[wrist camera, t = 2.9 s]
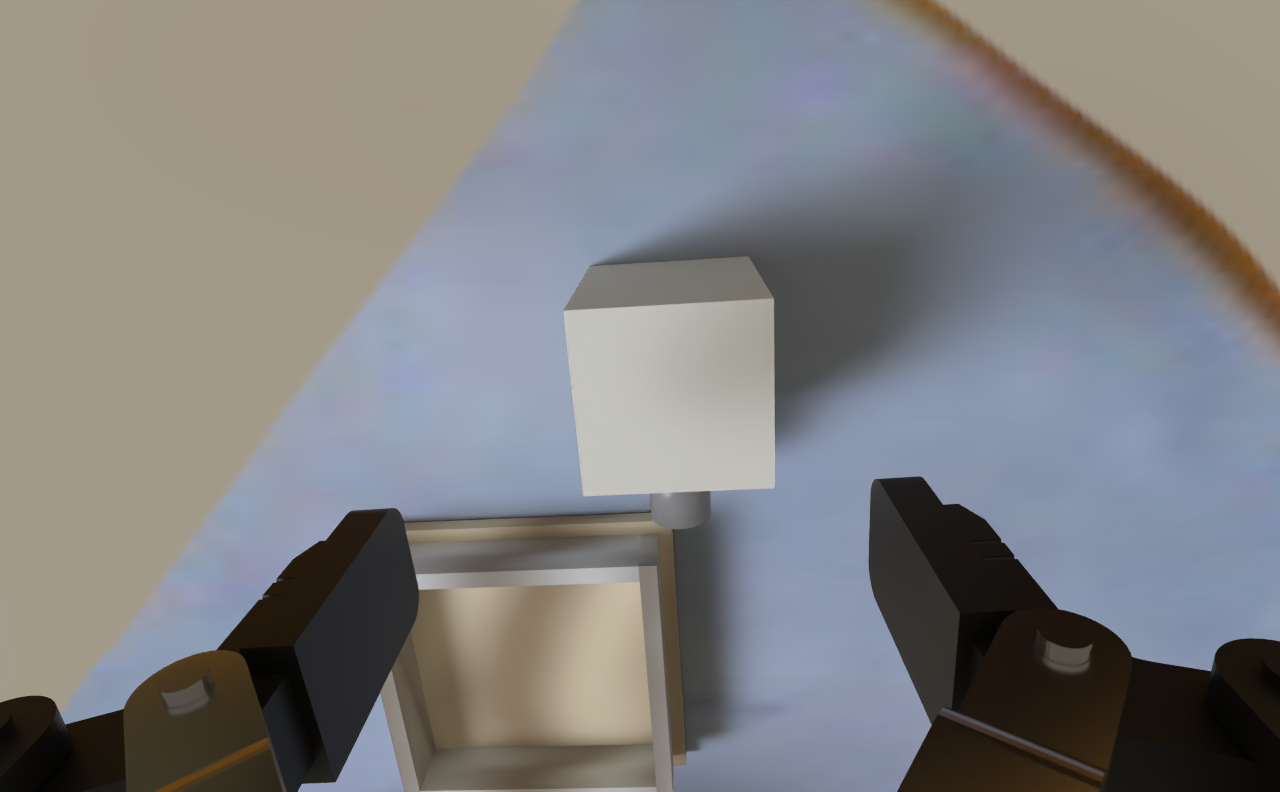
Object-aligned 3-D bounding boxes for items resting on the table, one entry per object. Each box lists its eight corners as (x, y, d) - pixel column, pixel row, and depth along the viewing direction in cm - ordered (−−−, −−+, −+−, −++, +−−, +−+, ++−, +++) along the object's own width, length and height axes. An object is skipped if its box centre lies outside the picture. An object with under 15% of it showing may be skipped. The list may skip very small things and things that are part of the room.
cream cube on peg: (748, 255, 23) (774, 298, 17) (752, 458, 25) (775, 554, 19) (589, 265, 23) (563, 310, 17) (608, 465, 25) (590, 561, 20)
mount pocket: (671, 511, 26) (670, 551, 23) (685, 752, 30) (687, 808, 27) (365, 524, 26) (334, 564, 24) (418, 757, 30) (396, 813, 28)
